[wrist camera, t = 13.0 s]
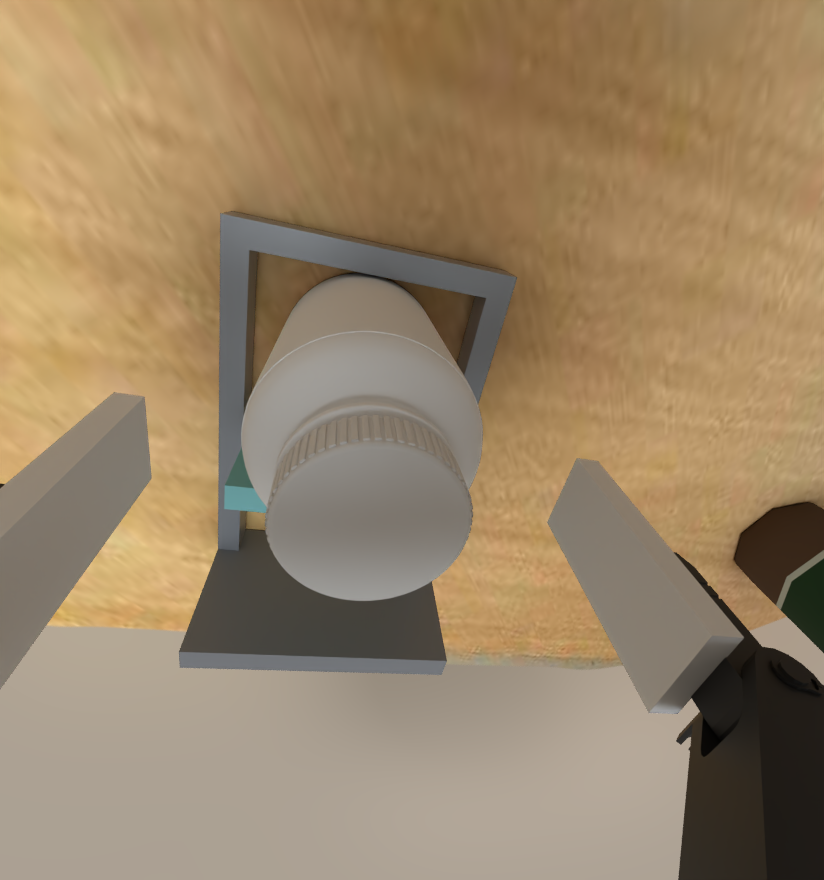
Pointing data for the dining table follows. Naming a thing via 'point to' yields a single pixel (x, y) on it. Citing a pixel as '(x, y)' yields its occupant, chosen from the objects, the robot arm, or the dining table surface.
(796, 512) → the beer bottle
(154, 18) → the dining table surface
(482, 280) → the frame
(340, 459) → the pill bottle
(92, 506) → the robot arm
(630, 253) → the dining table surface
